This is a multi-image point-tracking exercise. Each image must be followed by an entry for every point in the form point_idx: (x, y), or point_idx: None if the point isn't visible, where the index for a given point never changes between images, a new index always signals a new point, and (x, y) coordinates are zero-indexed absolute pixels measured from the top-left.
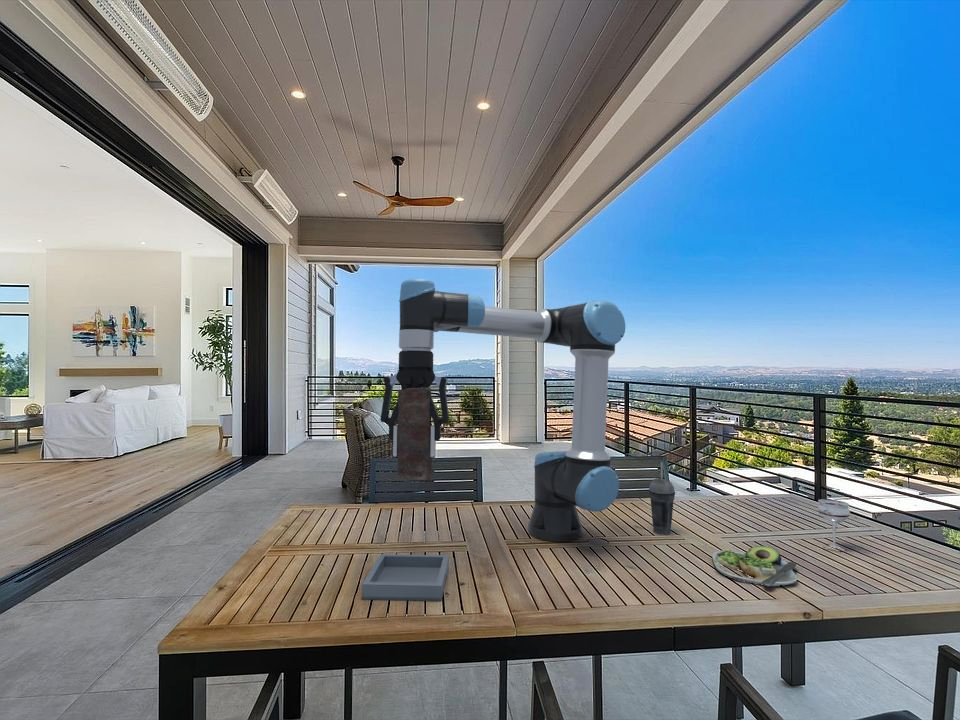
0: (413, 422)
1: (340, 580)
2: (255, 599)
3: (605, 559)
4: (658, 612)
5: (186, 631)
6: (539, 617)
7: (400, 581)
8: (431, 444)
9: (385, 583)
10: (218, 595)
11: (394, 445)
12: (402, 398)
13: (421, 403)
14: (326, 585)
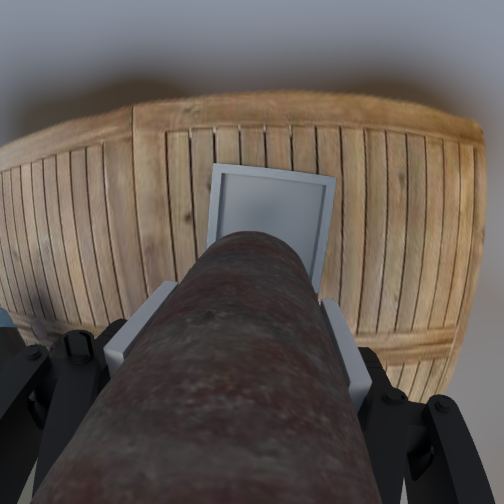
0: (224, 322)
1: (368, 243)
2: (452, 198)
3: (31, 278)
4: (16, 150)
5: (483, 138)
6: (105, 125)
7: (280, 222)
8: (156, 302)
9: (301, 176)
10: (483, 215)
11: (340, 321)
12: None
13: (87, 455)
14: (384, 228)
